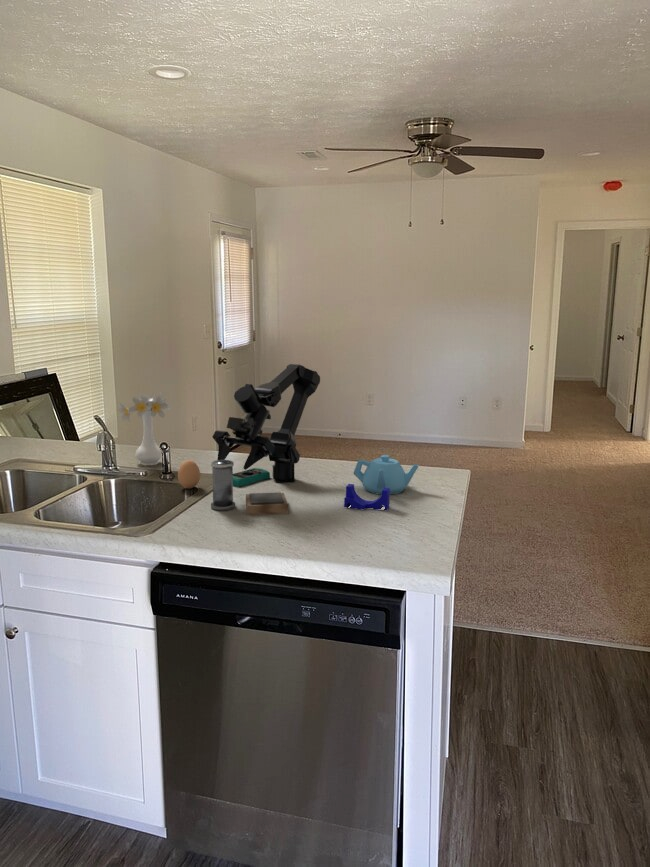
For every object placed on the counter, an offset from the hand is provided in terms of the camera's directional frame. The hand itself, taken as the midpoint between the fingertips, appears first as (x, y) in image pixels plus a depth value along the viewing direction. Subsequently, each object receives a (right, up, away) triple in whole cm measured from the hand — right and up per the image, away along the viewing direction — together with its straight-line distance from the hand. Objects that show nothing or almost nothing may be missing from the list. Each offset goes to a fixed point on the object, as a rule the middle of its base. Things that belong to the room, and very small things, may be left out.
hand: (231, 466), depth 190 cm
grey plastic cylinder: (-2, -11, -1) cm, 12 cm away
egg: (-15, -8, +16) cm, 24 cm away
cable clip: (+39, -12, 0) cm, 40 cm away
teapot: (+45, -8, +18) cm, 50 cm away
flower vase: (-35, -1, +44) cm, 56 cm away
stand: (+10, -11, -1) cm, 15 cm away
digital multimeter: (+2, -6, +26) cm, 27 cm away
